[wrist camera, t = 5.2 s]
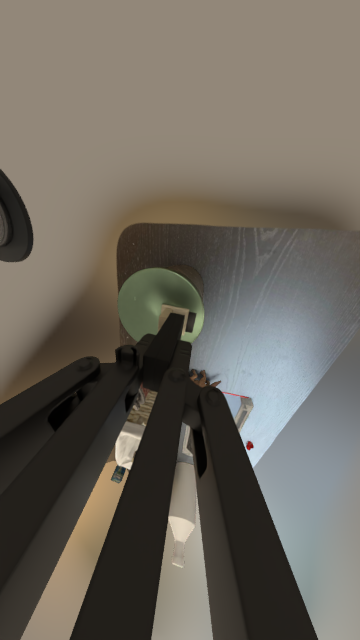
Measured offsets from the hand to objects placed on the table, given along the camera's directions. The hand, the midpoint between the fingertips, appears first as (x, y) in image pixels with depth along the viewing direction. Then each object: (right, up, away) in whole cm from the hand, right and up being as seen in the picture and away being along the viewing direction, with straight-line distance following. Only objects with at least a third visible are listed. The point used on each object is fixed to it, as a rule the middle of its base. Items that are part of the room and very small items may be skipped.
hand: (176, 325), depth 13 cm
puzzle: (-39, -98, +74) cm, 129 cm away
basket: (-9, -35, +38) cm, 52 cm away
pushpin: (+27, -47, +37) cm, 65 cm away
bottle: (+4, -79, +56) cm, 97 cm away
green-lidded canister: (+1, +8, +16) cm, 18 cm away
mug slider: (0, +1, +1) cm, 2 cm away
